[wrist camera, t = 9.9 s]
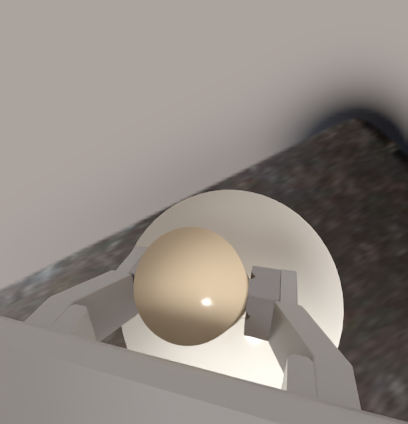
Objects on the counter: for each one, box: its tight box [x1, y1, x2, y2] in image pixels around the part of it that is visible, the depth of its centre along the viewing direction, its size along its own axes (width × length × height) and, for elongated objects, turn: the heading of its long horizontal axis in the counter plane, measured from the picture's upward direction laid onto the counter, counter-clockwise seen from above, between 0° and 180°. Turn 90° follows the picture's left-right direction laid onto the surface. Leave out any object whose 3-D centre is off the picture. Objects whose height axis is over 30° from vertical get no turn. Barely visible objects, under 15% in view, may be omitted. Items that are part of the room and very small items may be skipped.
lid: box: [122, 190, 344, 389], centre depth 11 cm, size 11×11×8 cm
